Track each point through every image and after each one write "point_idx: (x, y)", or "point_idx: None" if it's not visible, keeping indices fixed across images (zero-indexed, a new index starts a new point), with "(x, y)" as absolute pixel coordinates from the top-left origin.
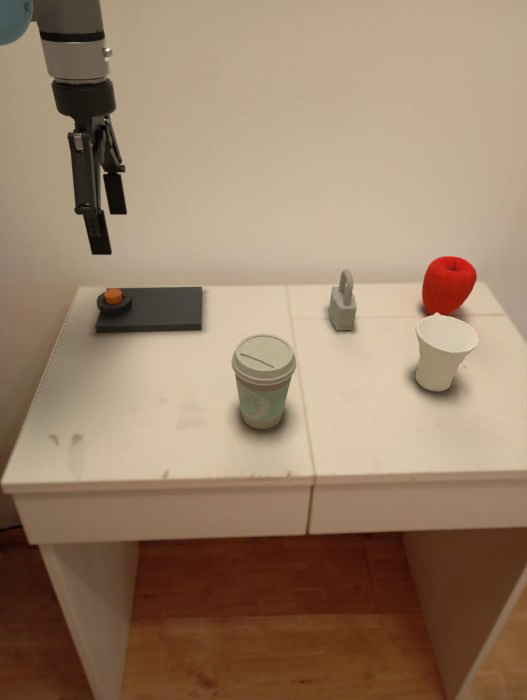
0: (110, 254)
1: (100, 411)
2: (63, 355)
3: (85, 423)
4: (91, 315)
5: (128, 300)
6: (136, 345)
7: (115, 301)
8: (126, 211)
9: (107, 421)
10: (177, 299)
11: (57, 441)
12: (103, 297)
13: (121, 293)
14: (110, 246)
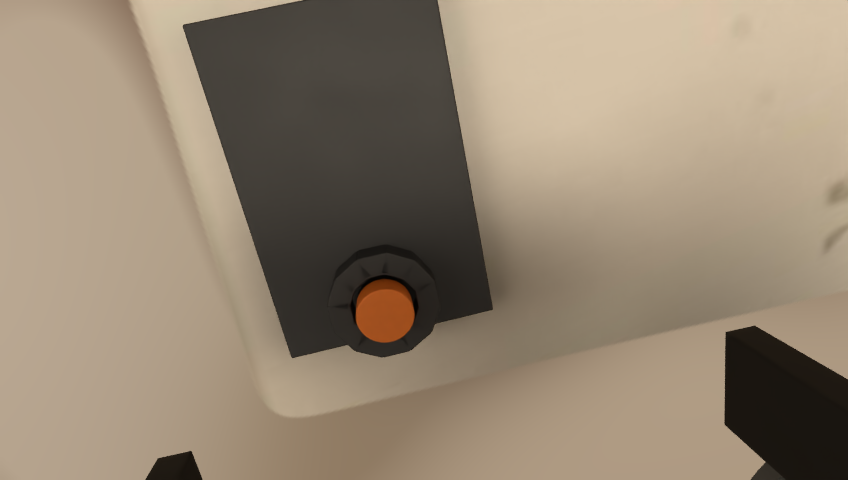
0: (755, 329)
1: (768, 174)
2: (583, 339)
3: (800, 193)
4: None
5: (385, 258)
6: (528, 173)
7: (407, 294)
8: (167, 467)
9: (798, 146)
10: (300, 102)
11: (842, 229)
12: None
13: (377, 289)
14: (766, 352)
